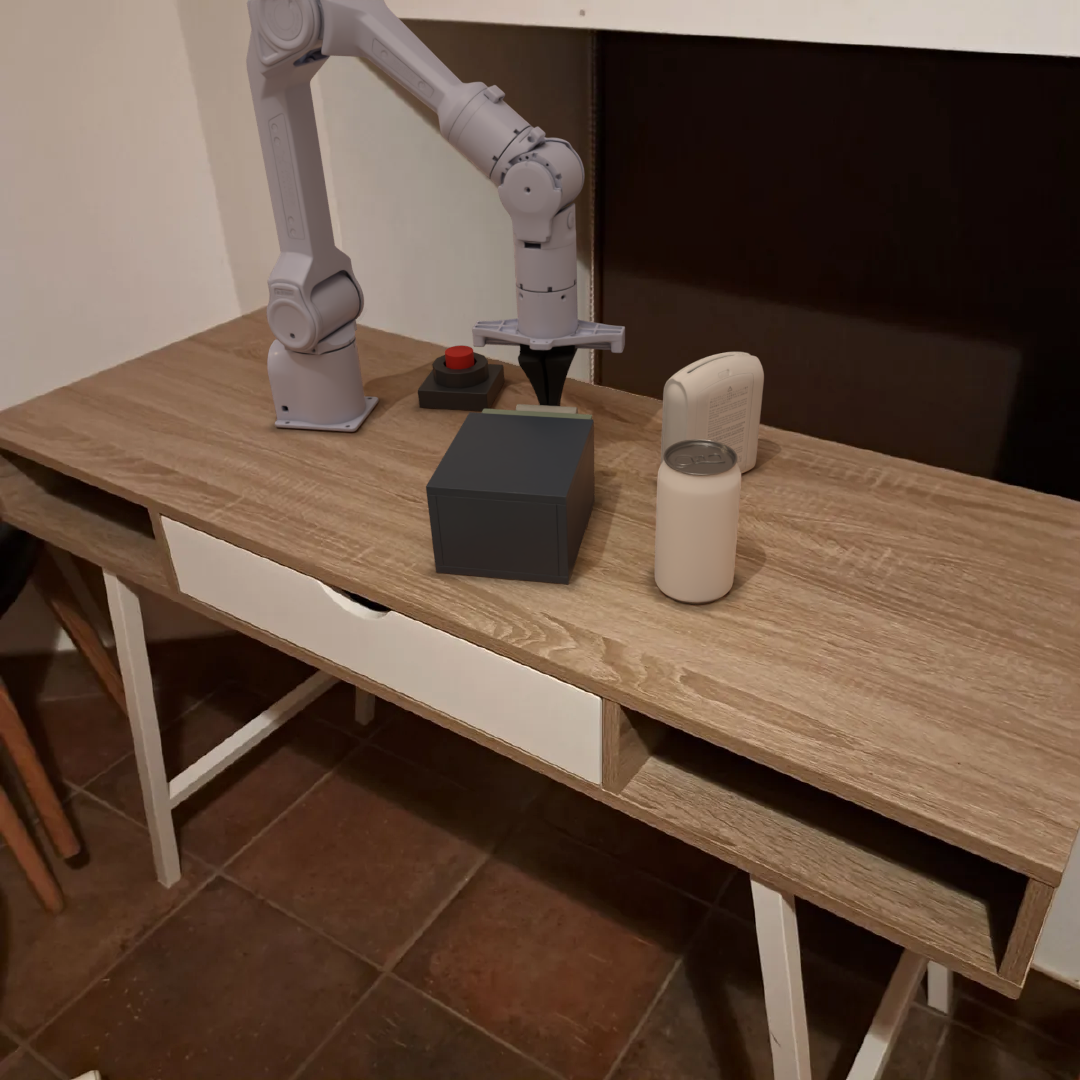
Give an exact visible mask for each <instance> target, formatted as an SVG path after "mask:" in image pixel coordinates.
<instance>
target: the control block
mask: <svg viewBox="0 0 1080 1080" xmlns="http://www.w3.org/2000/svg"><path fill="white" fill-rule="evenodd" d="M473 353H474V366H472V367H469V368H465V369H450V368H447V367H446V359H445V354H443V355H441V356H438V357H436V358H435V359H434V360H433V362H432V364H431V366H432V369H431V371H429V373H428V375H427V376H426V378H425V379H424V380H423V382H422V383H421V385H420V386H419V387H418V389H417V396H418V397H417V398H418V407H419V408H420V409H437V410H438V409H439V410H453V411H454V410H456V411H469V412H482V411H483V409H491V406H492V405H493V404H494V402H495V399H496V398H497V396H498V394H499V392H500V390H501V389H502V387H503V386H504V383H505V368H504V367H505V366H504V364H497V363H495V364H494V363H489V360H488V359H487V357H486V356H485V355H484V354H481V353H478V352H474V351H473Z"/></svg>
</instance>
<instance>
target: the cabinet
mask: <svg viewBox="0 0 1080 1080" xmlns="http://www.w3.org/2000/svg"><path fill="white" fill-rule="evenodd" d="M595 481H596V480H595V419H593V418H592V419H576V418H559V417H541V416H524V415H507V414H489V413H482V412H473V411H469V412H468V414H467V416H466V417H465V419H464V421H463V422H462V424H461V426H460V428H459V429H458V430H457V432H456V435H455V436H454V438H453V440H452V441H451V443H450V445H449V446H448V448H447V450H446V451H445V453H444V454H443V456H442V458H441V460H440V462H439V463H438V465H437V466H436V468H435V470H434V472H433V473H432V475H431V477H430V478H429V480H428V482H427V484H426V485H425V491H426V499H427V501H426V502H427V508H428V517H429V525H430V533H431V543H432V550H433V558H434V559H433V560H434V565H435V573H437V574H448V575H459V576H471V577H480V578H491V579H492V578H493V579H505V580H514V581H526V582H537V583H547V584H558V585H559V584H560V585H569V584H570V581H571V578H572V575H573V572H574V568H575V566H576V563H577V559H578V557H579V556H578V555H579V552H580V549H581V547H582V543H583V539H584V537H585V534H586V530H587V527H588V523H589V520H590V518H591V514H592V510H593V507H594V505H595V501H596V498H595V497H596V495H595V491H596V490H595V489H596V488H595V485H596V483H595Z"/></svg>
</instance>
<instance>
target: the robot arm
mask: <svg viewBox="0 0 1080 1080" xmlns="http://www.w3.org/2000/svg"><path fill="white" fill-rule="evenodd" d="M246 6H247V12H248V17H249V24H250V36H249V41H248V47H247V53H246V58H245V59H246V60H245V62H246V63H245V64H246V70H247V71H246V73H247V77H248V83H249V88H250V93H251V99H252V104H253V110H254V115H255V116H254V117H255V121H256V126H257V131H258V137H259V142H260V143H259V144H260V148H261V154H262V159H263V163H264V170H265V176H266V180H267V186H268V191H269V197H270V203H271V207H272V213H273V218H274V223H275V229H276V235H277V239H278V244H279V245H278V246H279V250H280V254H279V256H278V258H277V260H276V262H275V264H274V266H273V268H272V270H271V272H270V273H269V276H268V279H267V287H268V294H269V296H268V303H267V306H266V321H267V324H268V326H269V329H270V331H271V333H272V334H273V336H274V337H275V339H273V341H272V343H271V344H270V347H269V349H268V352H267V363H266V367H267V376H268V381H269V385H270V391H271V397H272V400H273V401H272V402H273V405H274V410H275V416H276V419H275V422H274V426H275V427H276V428H284V429H285V428H286V429H300V430H316V431H332V432H348V433H353V432H356V431H357V430H358V429H359V428H360V426H361V425H362V424H363V423H364V421H365V420H366V419H367V417H368V416H369V415H370V413H372V411H373V409H374V408H375V407H376V406H377V404H378V403H379V397H377V396H366V395H365V389H364V384H363V377H362V370H361V364H360V357H359V350H358V343H357V337H356V331H357V330H358V326H357V325H358V324H357V319H359V317H360V316H361V315H362V314H363V311H364V307H365V296H364V293H363V289H362V286H361V284H360V283H359V281H358V279H357V278H356V276H355V273H354V271H353V270H354V269H353V266H352V258H350V256H349V255H347V254H346V253H345V252H344V251H342V250H341V249H340V248H338V247H337V245H336V243H335V237H334V231H333V225H332V217H331V211H330V205H329V198H328V191H327V184H326V180H325V172H324V165H323V159H322V153H321V147H320V139H319V133H318V127H317V121H316V114H315V106H314V101H313V95H312V89H311V82H312V80H313V78H314V77H315V75H316V74H317V73H318V72H319V71H320V69H321V68H322V67H323V66H324V64H325V63H326V62H327V61H328V60H329V59H330V58H331V56H332V57H353V58H364V59H367V60H368V61H370V63H372V64H373V65H375V66H376V67H377V68H378V69H380V70H381V71H382V72H383V73H385V74H386V75H387V76H388V77H390V78H391V79H392V80H393V81H395V82H396V83H397V84H399V85H400V86H401V87H403V88H404V89H405V90H406V91H407V92H409V93H410V94H411V95H412V96H414V98H417V99H418V101H420V102H422V104H423V105H425V106H427V108H429V109H430V110H432V111H433V112H434V113H435V114H437V117H438V124H439V131H440V135H441V137H442V138H443V139H445V141H447V142H448V144H450V146H452V147H453V148H454V149H456V150H457V151H458V152H459V153H460V154H461V155H462V156H463V157H464V158H466V160H468V161H469V162H470V163H471V164H473V166H475V167H476V168H477V169H478V171H480V172H481V173H482V174H483V175H485V176H486V178H488V179H489V180H490V181H491V182H493V183H494V184H495V185H496V186H497V194H498V197H499V200H500V202H501V205H502V207H503V208H504V210H505V211H506V213H508V215H509V217H510V220H511V223H512V240H513V241H512V242H513V257H514V258H513V259H514V274H515V275H514V277H515V297H516V313H517V314H516V315H517V318H507V319H497V320H477V321H476V322H475V323H474V325H473V326H472V328H471V332H472V333H471V334H472V343H473V344H472V346H473V347H474V348H484V347H485V346H486V345H489V346H491V345H492V346H513V347H514V346H515V347H519V355H518V356H517V362H518V365H519V367H520V369H521V370H522V371H523V373H524V374H525V376H526V377H527V379H528V381H529V383H530V385H531V387H532V389H533V391H534V393H535V396H536V398H537V401H538V405H545V406H561V401H562V395H563V391H564V388H565V383H566V379H567V376H568V373H569V370H570V368H571V365H572V363H573V361H574V359H575V356H576V354H577V351H578V349H581V350H582V349H583V350H603V351H605V350H606V351H610V352H611V353H613V354H622V353H623V352H624V349H625V346H626V327H625V326H622V325H611V324H606V323H605V324H604V323H600V322H596V321H595V322H594V321H588V320H584V319H579V316H578V315H579V314H578V313H579V312H578V264H577V258H578V257H577V230H576V229H577V227H576V223H577V222H576V203H575V202H573V201H575V199H576V198H577V197H578V196H579V194H580V193H581V191H582V190H583V187H584V184H585V168H584V163H583V161H582V159H581V157H580V155H579V154H578V152H576V150H575V149H574V148H573V146H572V145H571V143H570V142H569V141H567V140H566V139H562V138H559V137H546V134H547V133H546V132H545V131H544V130H543V129H542V128H541V127H540V126H535V127H534V126H532V125H531V124H530V123H529V122H528V121H527V120H526V119H524V118H523V116H521V115H520V114H518V112H517V111H515V110H514V109H513V108H512V107H511V106H510V105H509V104H508V103H507V102H506V101H504V98H505V96H506V93H505V92H504V91H503V90H502V89H501V88H499V87H498V86H497V85H496V84H493V85H491V86H487V84H485V83H484V81H483V82H482V81H473V82H462V80H461V79H459V78H458V76H456V75H455V73H454V72H452V70H451V69H450V68H449V67H448V66H446V64H444V63H443V62H442V60H440V59H439V58H438V57H437V56H436V55H435V53H433V52H432V50H431V49H430V48H428V46H427V45H426V44H425V43H424V42H423V41H422V40H421V39H420V38H419V37H418V36H417V35H416V34H415V33H414V32H413V31H412V30H411V29H410V28H409V27H408V26H407V25H406V24H404V22H403V21H402V20H401V19H400V18H399V17H398V16H397V15H396V14H395V13H394V12H393V11H392V10H391V9H390V8H389V7H388V5H387V4H386V1H385V0H247V1H246ZM569 204H570V205H569Z"/></svg>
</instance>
